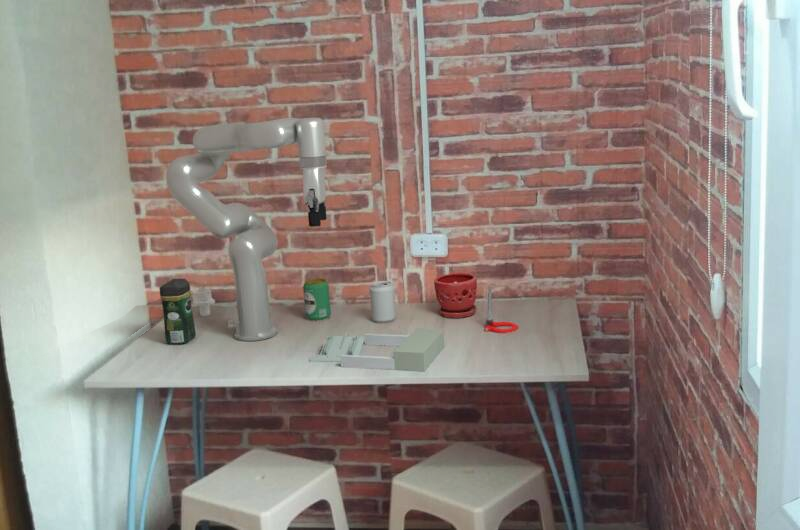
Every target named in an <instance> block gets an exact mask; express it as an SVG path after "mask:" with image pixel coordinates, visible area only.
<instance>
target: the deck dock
mask: <svg viewBox="0 0 800 530" xmlns="http://www.w3.org/2000/svg"><path fill="white" fill-rule="evenodd" d="M444 332H445V330H444V329H434V328H433V329H430V328H429V329H427V328H426V329H425V328H415V329H414V330H413V331H412V332H411V333H410V334H409V335H406V334H385V333H365V334H364V336H365V340H364V345H365V346H379V345H383V347H384V345H385V347H386V346H387V347H396V349H395V350H394V351H393V356H378V355H377V356H376V355H375V356H374V355H373V356H371V355H364V356H358V355H341V356H340V357H341V362H340V365H341V366H340V368H353V369H354V368H355V369H370V368H371V370H372V368H374V370H375V369H376V370H388V369H392V370H393V371H408V372H410V371H411V372H426V370H427V369H428V368H429V367H430V365H431V364H432V363H433V362H434V360H435V359H436V358H437V357H438V356H439V355H440V353H442V351H443V349H445V333H444ZM437 355H438V356H437ZM436 356H437V357H436Z"/></svg>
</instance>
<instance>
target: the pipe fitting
mask: <svg viewBox="0 0 800 530" xmlns="http://www.w3.org/2000/svg"><path fill="white" fill-rule="evenodd" d="M194 296H195V300H192V304H193V305H194V306H196V307H199V314H200V316H202V317H206V316H209V315H211V309H210V308H211V307H210V306H211V305H212V304H213V305H214V304H215V303H216V300H215V299H214V298H213V297H212V290H211V289H209V288H203V289H196V290H195V291H194Z"/></svg>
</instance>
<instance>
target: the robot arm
mask: <svg viewBox="0 0 800 530" xmlns="http://www.w3.org/2000/svg"><path fill="white" fill-rule="evenodd" d="M325 140H326V139H325V128H324V121H323V119H322V118H321V117H304V118H298V117H283V118H278V119H274V120H273V119H271V120H265V121H259V122H252V123H251V122H249V123H245V122H244V121H238V122H237V121H236V122H231V123H224V124H221V123H220V124H215V125H213V124H212V125H207V126H202V127H201V128H199V129H197V130H196V132H195V133H194V135H193V137H192V144H193V145H192V146H193V148H194V149H195V151H197V152H198V153H195V154H190V155H189V154H188V155H183V156H181V157H178V158H176V159H174V160H172V161H171V162H170V163H169V165H168V167H167V168H166V173H165V181H166V185H167V189H168V190H169V193H170V195H171V196H172V197H173V198H174V199H175V201H176V202H178V203H179V204H180V205H181V206H182V207H183V208H185V209H186V210H187V211H188V212H189V213H190V214H191V215H192V216H193V217H194V218H195V219H196V220H197V221H198V222H199V223H200V224H201V225H202V226H203V227H204V228H205V229H206V230H207V231H208V232H210V233H211V234H212V236H214V238H217V239H221V240H223V239H229V238H230V237H232V239H231V240H230V242H229V244H228V248H227V250H228V251H227V252H228V258H229V261H230V264H231V267H232V272H233V273H232V274H233V281H234V289H235V291H234V292H235V301H236V309H237V317H238V319H237V320H231V319H230V320H228V322H227V328H228V329H235V331H234V338H235V339H236V340H238V341H243V342H253V341H263V340H267V339H271V338H272V337H274V336H276V335H277V332H278V329H277V328H276V327H275V326H272V321H271V311H270V298H269V286H268V278H267V273H266V270H265V267H264V265H263V262H262V261H263V259H266V258H268V257H270V256H272V255H273V254H274V253H275V252H276V251H277V249H278V245H279V241H278V238H277V235H276V233H275V232H274V230H273V229H272V228H271V227H270V226H269V225H268V224H267V223H266V222H265V221H264V219H262V218H261V217H260V216H258V214H257V213H256V212H255V211H254V210H253V209H251V208H250V207H249V206H247V205H246V204H243V203H241V202H231V203H227V204H225V203H223V202H222V201H220V200H219V199H218V198H217V197H216V196H215V195H214V194H213V193H212V192H211V191H210V190H209V189H206V188H204V187H202V186H200V185H199V184H198V183H202V182H207V181H209V180H212V179H213V178H214V177H216V175H217V174H218V173H219V172H220V170H221V168H222V167H223V165H225V163H226V161H227V160H228V159H229V157H230V155H231V154H236V153H237V154H239V153H246V152H250V151H251V152H252V151H260V150H269V149H277V148H282V147H286V146H290V145H295V144H297V151H298V152H297V153H298V160H299V161H298V162H299V170H302V196H303V199H302V200H303V204H304V205H307V217H308V226H309V227H313V228H314V227H320V226H321V225H322V224H321V221H326V220H327V208H326V201H325V200H326V197H327V196H326V195H327V194H326V193H327V190H326V181H325V179H326V178H325V171H324V169H325V168H327V167H328V166H327V165H328V164H327V163H328V162H327V154H326V153H327V152H326V151H327V150H326V141H325Z"/></svg>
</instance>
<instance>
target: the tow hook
mask: <svg viewBox="0 0 800 530" xmlns="http://www.w3.org/2000/svg"><path fill="white" fill-rule="evenodd" d="M485 321H486V322H485V323H486V324H485V327H484V331H485V332H489V331H491V332H493V333H494V332H495V333H501V334H508V333H507V332H511V333H513V332H512V331H515V330H517V329H518V330H519V325H518V324H516V323H515V322H514V323H513V322H510V321H494V319H493V292H492V285H489V286H488V293H487V311H486V320H485ZM500 326H504V327H505V326H507V327H510V326H512V327H513V328H512V327H511V328H498V327H500ZM518 330H517V331H518ZM515 332H516V331H515Z"/></svg>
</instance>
